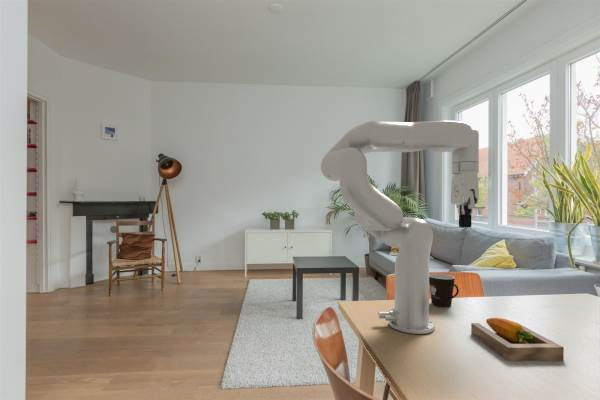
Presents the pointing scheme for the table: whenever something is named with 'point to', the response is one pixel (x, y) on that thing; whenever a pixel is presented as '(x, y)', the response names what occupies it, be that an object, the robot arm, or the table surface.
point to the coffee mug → (442, 289)
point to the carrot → (509, 330)
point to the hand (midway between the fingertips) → (465, 227)
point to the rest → (519, 345)
